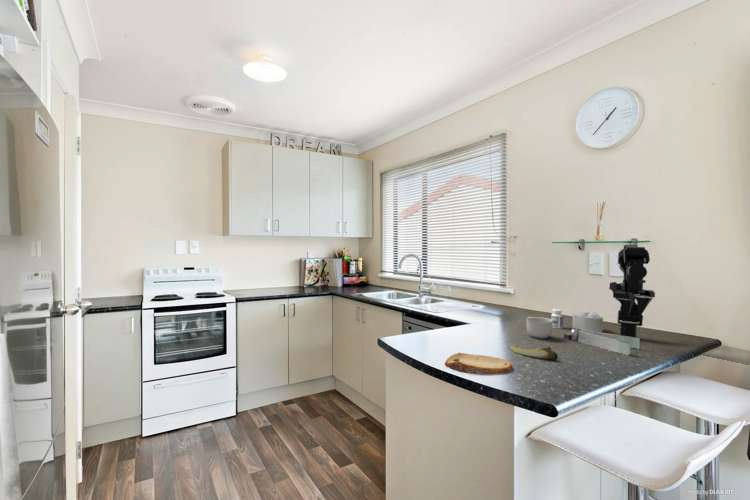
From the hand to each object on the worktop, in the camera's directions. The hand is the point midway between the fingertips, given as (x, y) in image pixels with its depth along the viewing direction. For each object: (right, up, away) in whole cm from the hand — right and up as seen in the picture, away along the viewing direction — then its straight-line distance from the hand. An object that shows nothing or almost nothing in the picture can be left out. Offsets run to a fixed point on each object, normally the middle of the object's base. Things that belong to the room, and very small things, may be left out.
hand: (633, 315), depth 146 cm
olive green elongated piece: (-48, -13, -12) cm, 51 cm away
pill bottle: (-15, -13, +33) cm, 38 cm away
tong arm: (-9, -13, +2) cm, 16 cm away
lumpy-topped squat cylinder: (-1, -13, +29) cm, 32 cm away
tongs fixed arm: (-16, -13, -1) cm, 20 cm away
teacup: (-33, -12, +14) cm, 38 cm away
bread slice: (-72, -12, -29) cm, 79 cm away
